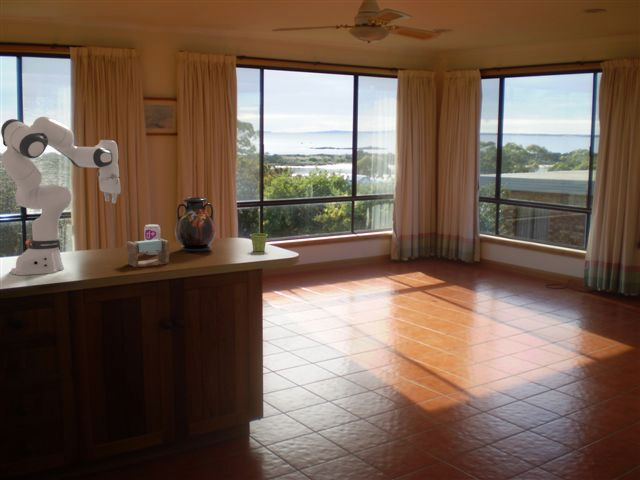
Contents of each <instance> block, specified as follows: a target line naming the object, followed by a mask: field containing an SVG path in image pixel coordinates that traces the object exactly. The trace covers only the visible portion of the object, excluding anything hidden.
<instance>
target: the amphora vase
mask: <svg viewBox="0 0 640 480" xmlns="http://www.w3.org/2000/svg"><path fill="white" fill-rule="evenodd" d="M182 202H183V203H179V204H178V205H177V207H176V224H175V228H174V235H175V238H176V240H177V241H178V242H179V244H180V245H181V246H180V247H179V249H180V250H181V252H184V253H192V254H193V253H196V254H197V253H205V252H209V251H211V250H212V246H211V244H212V242H213V241H214V239H215V238H216V234H217V231H216V230H217V229H216V225H215V224H216V223H215V222H214V207H213V205H212V204H211V203H209V202H208V198H206V197H194V196H193V197H185V198H183V199H182ZM206 202H208V203H206ZM207 206H209V207H210V214H209V213H208V212H207V211H206V207H207ZM181 207H184V211H183V212H182V214H181V215H180V208H181Z"/></svg>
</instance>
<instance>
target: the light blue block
mask: <svg viewBox="0 0 640 480" xmlns="http://www.w3.org/2000/svg"><path fill="white" fill-rule="evenodd" d="M133 242H134V243H136V244H137V246H138V252H142V253H145V252H147V251H155V250H162V240H158V239H155V240H146V241H144V240H139V241H133Z"/></svg>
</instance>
